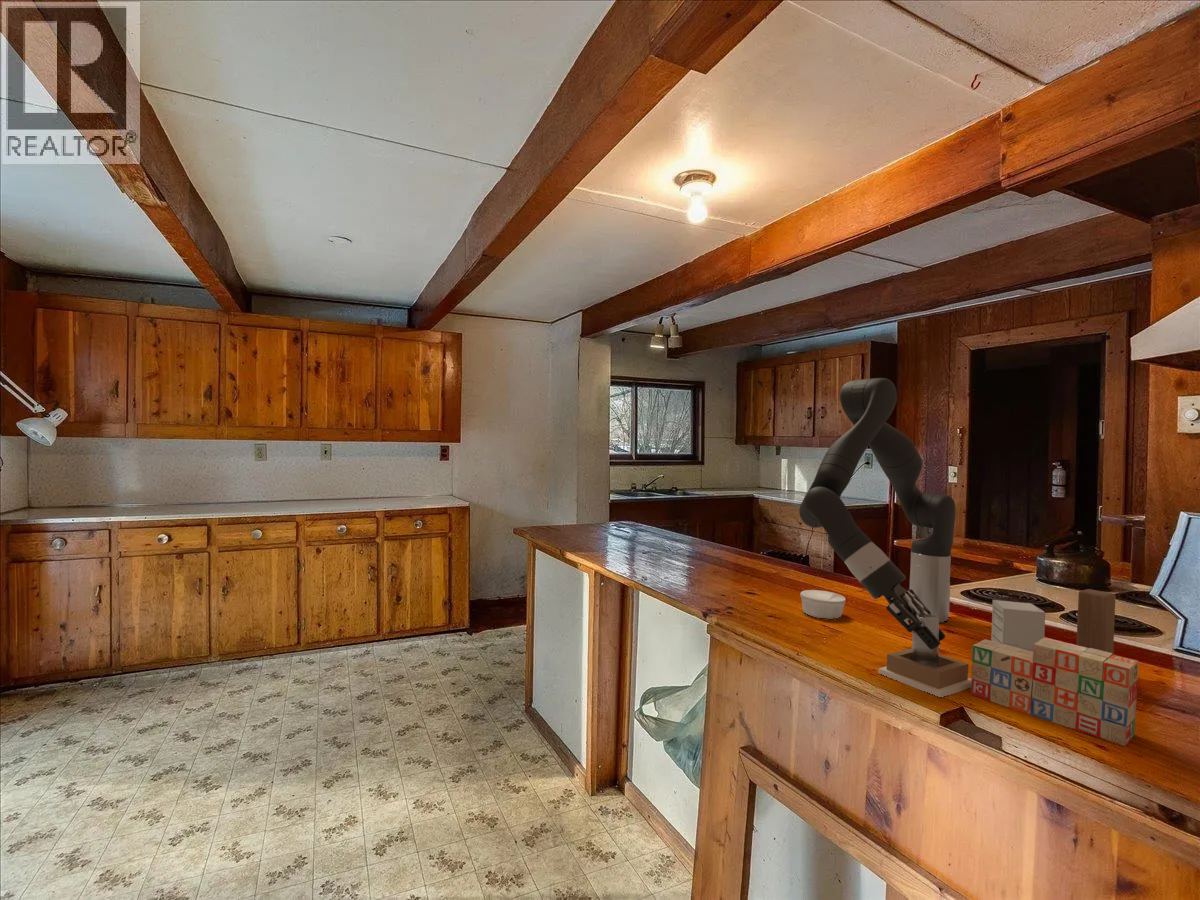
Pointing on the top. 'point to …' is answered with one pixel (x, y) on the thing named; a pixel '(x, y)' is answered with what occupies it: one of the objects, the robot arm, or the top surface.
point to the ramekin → (822, 603)
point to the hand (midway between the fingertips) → (938, 642)
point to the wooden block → (1096, 620)
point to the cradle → (927, 673)
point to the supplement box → (1017, 624)
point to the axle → (920, 649)
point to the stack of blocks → (1060, 685)
